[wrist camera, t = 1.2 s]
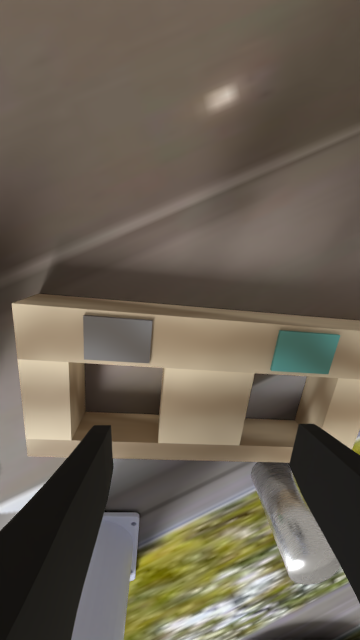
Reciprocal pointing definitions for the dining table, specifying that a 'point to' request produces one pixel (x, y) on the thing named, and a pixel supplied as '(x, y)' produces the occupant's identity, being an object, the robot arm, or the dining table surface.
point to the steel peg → (293, 525)
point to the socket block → (182, 376)
